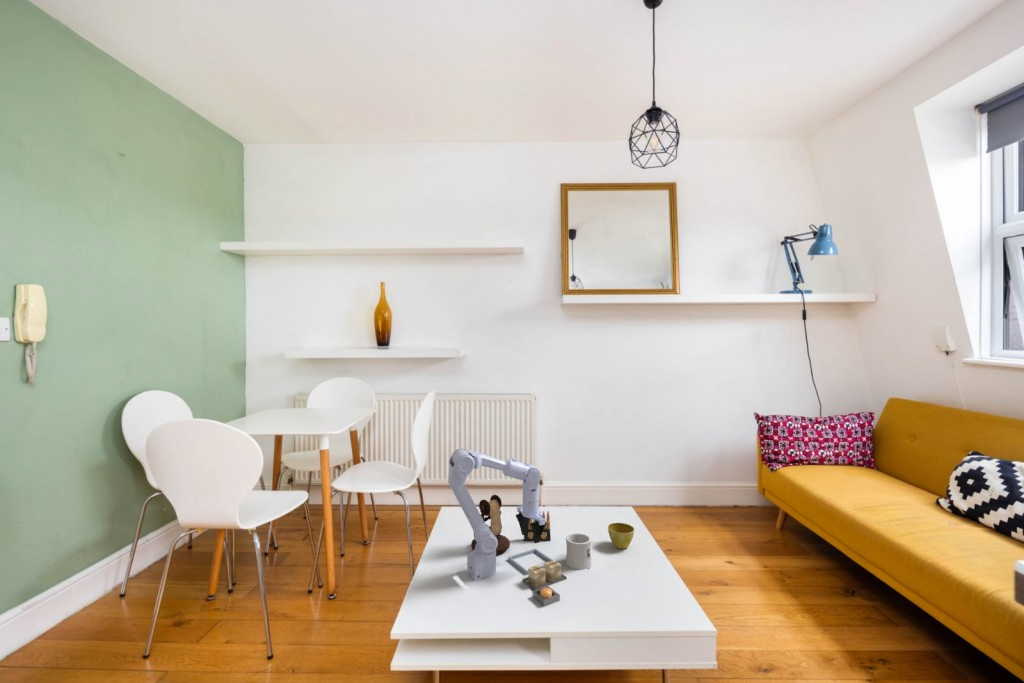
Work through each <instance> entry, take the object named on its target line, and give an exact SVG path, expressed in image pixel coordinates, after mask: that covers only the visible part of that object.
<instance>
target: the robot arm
mask: <svg viewBox="0 0 1024 683" xmlns="http://www.w3.org/2000/svg"><path fill="white" fill-rule="evenodd" d="M448 460H449V461H448V466H449V468H448V475H447V478H448V480H447V482H448V485H449V487H450V489H451V491H452V492H453V494H454V496H455V499H456V500H457V502H458V504H459V506H460V507H461V508H460V509H462V511H463V514H464V515H465V517H466V520H467V521H468V523H469V524H470V527H471V529H472V531H473V539H475V540H476V541H477V543H476V546H475V550H472V551H471V552H469V553H468V554H467V557H466V558H467V560H466V561H467V562H466V564H467V566H466V567H467V569H466V570H467V571H466V572H467V574H468V575H469V576H470V577H471V578H472V580H474V581H478V580H483V579H485V578H491V577H494V576H495V575H496V574H497V554H496V548H497V546H498V541H497V538H496V537H495V536H494V535H493V533H492V532H491V529H490V528H489V527H488V526H489V525H488V524H487V523H486V521H485V522H484V520H483V519H482V517H481V512H480V510H479V509H478V507H477V506H476V503H475V501H474V500H473V498H472V496H471V494H470V491H469V490H468V488H467V487H466V484H465V482H466V480H467V478H468V476H469V475H470V474H472V472H473V470H474V469H475V470H478V469H479V468H481V467H482V466H483V467H485V468H489V469H493V470H498V471H502V474H503V475H504V476H506V477H509V478H512V479H516V480H518V481H519V480H520V481H522V505H518V506H517V507H516V509H517V510H516V511H517V514H515V518H516V520H517V522H518V524H519V528H520V529H519V530H520V532H521V533H520V534H521V535H522V536H524V535H526V534H528V527H529V520H530V519H532V521H533V520H534V521H535V522H534V523H530V526H531V528H532V531H533V540H534V541H533V543H534V544H538V543H540V542H541V541H540V539H541V537H542V532H543V530H544V528H545V526H546V522H545V521H546V517H545V518H543V517H542V514H541V513H542V510H540V509H539V508H540V502H539V501H540V499H539V498H540V494H539V493H540V488H539V487H540V482H541V480H542V478H543V477H542V474H541V472H540V470H539V469H538V468H537V467H535V466H534V465H533V464H531V463H529V462H525V463H524V462H520V461H518V459H516V458H512V459H511V458H509V459H506V460H502V459H499V458H497V457H496V458H495V457H492V456H490V455H488V454H484V453H481V452H477V451H475V450H470V449H464V448H458V449H455V450H454V451H453V452H452V454H451V456H450V458H449V459H448ZM486 524H487V525H488V526H487V525H486Z"/></svg>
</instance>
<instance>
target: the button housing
mask: <svg viewBox="0 0 1024 683" xmlns="http://www.w3.org/2000/svg"><path fill="white" fill-rule="evenodd" d="M544 588H549V589H551V590H552V596H551V597H548V598H546V599H544V598H543V597H542V596H540V590H541V589H542V588H541V589H538V590H535V591H534V590H533V591H532V593H531V596H532V599H534V600H535V601H536V602H538V604H540V605H541V606H542V607H544V608H545V607H547V606H550V605H553V604H555V603H557V602H560V601H561V595H560V594H559V593H558V592H557V591H555V590H554V588H553V589H552V587H550V585H549V586H546V587H544Z"/></svg>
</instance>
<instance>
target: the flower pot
mask: <svg viewBox="0 0 1024 683" xmlns="http://www.w3.org/2000/svg"><path fill="white" fill-rule="evenodd" d="M607 530H608V535H609V538H610V541H611V543H612V544H613V546H614V547H615V548H616V549H620V550H625V549H627V548H628V547H629V545H630V544H631V542H632V540H633V538H634V533H635V527H634V526H632V525H631V524H629V523H624V522H612V523H610V524H608V525H607Z"/></svg>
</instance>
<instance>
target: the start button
mask: <svg viewBox="0 0 1024 683" xmlns="http://www.w3.org/2000/svg"><path fill="white" fill-rule="evenodd" d="M551 589H552V588H551ZM551 589H549V588H542V589H541V590H540V596H542V597H543V598H544V599H546V598H548V597H551V596H552V590H551Z"/></svg>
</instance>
